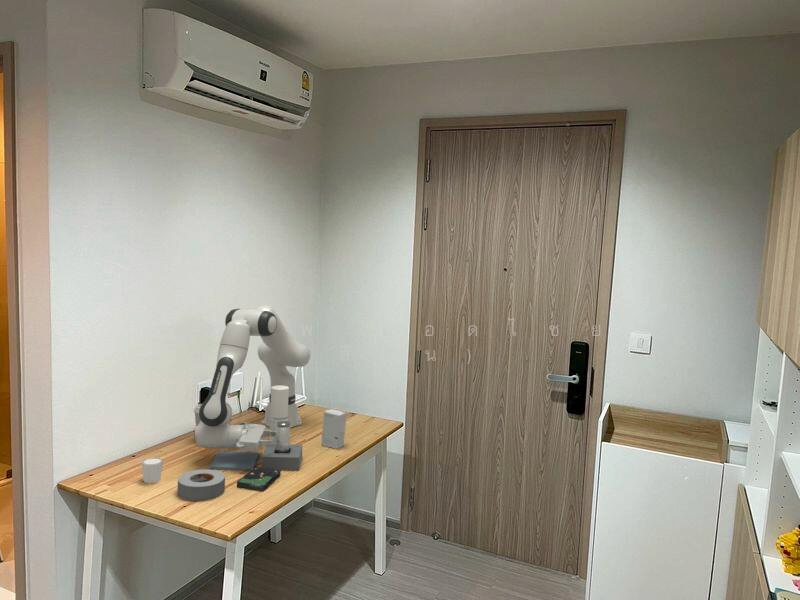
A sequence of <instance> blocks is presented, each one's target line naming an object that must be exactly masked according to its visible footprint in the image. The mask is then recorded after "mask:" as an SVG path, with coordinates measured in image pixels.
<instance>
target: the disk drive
mask: <svg viewBox="0 0 800 600" xmlns="http://www.w3.org/2000/svg"><path fill="white" fill-rule="evenodd" d="M281 471H282V470H274V469H268V468H266V469H262V468H261V467H259V466H254V468H253V469H252V470H249V471H248V472H247V473H246V474H245V475H243V476H242V477H240V478H239V479H238V480H237V481H236V488H237V489H243V488H244V489H243V490H249V491H250V490H251V491H257V492H264V491H266V490H267V489H268V487H270V486H271V485H272V484H273V483H274V482H276V481H277V480H278V479H279V478H280V477H281V475H282V473H281Z"/></svg>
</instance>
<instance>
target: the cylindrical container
mask: <svg viewBox="0 0 800 600" xmlns="http://www.w3.org/2000/svg"><path fill="white" fill-rule="evenodd" d="M270 394H271V411H270V427H269V430H270V431H276V436H275V437H271V436H269V439H272V440H273V444H276V440H277V422H279V421H288V396H289V387H288V386H283V385H277V386H272V387H271V386H270Z"/></svg>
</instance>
